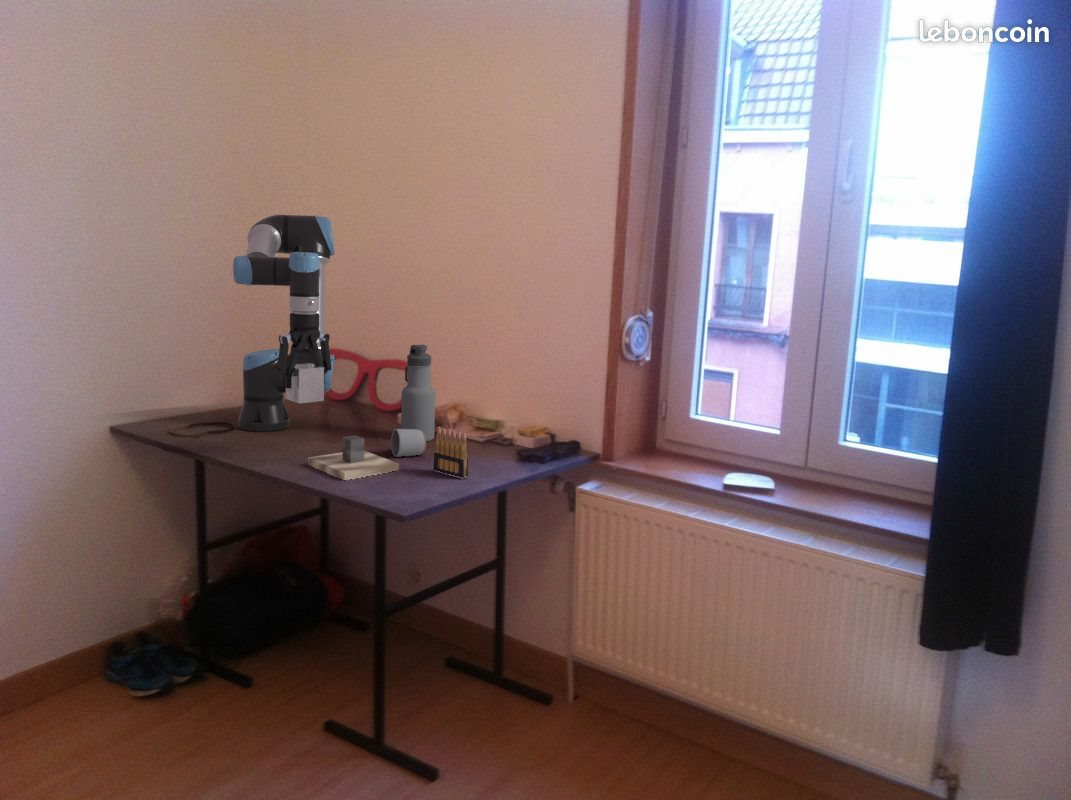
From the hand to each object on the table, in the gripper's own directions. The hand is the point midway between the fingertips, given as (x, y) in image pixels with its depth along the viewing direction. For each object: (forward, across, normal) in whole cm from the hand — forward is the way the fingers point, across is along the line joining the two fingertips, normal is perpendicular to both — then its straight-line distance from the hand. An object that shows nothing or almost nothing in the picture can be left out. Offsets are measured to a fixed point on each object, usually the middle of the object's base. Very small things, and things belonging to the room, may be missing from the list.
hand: (304, 398), depth 242 cm
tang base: (+16, +5, -16) cm, 23 cm away
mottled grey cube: (0, 0, 0) cm, 0 cm away
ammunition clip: (+16, +22, -35) cm, 45 cm away
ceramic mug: (+16, +24, -12) cm, 32 cm away
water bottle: (+16, +38, +2) cm, 41 cm away
